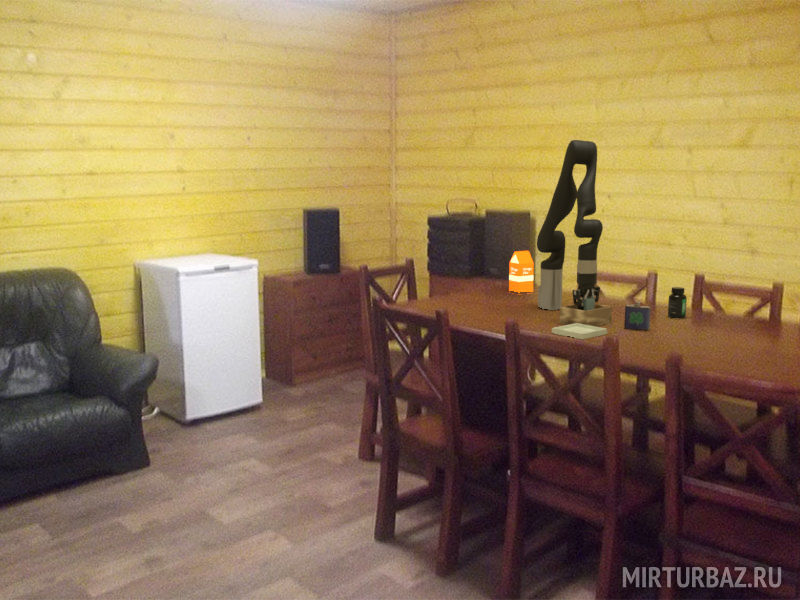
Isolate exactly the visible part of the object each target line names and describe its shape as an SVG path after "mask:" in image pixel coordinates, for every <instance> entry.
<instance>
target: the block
mask: <svg viewBox="0 0 800 600" xmlns="http://www.w3.org/2000/svg"><path fill="white" fill-rule="evenodd" d="M581 298H582V297H581ZM595 299H596V297H595V298H591V297H588V298H587V299H586V301H585V302H584V305H583V306H584V311H588V310H593V309H594V300H595ZM581 302H582V300H581V301H580V303H581ZM577 310H578V307H577Z"/></svg>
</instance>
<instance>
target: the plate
mask: <svg viewBox="0 0 800 600" xmlns="http://www.w3.org/2000/svg"><path fill="white" fill-rule="evenodd" d="M553 333H554V334H555V335H557V336H563V337H567V336H570V337H569V338H572V337H574V338H573V339H577V340H587V339H591V338H596V337H600V336H605V334H606V335H608V328H605V327H601V326H590V325H585V324H579V323H575V324H569V325H565V324H563V325H561V326H560V325H559V326H555V327H551V334H553Z"/></svg>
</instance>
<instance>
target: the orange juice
mask: <svg viewBox="0 0 800 600" xmlns="http://www.w3.org/2000/svg"><path fill="white" fill-rule="evenodd" d="M508 265H509V273H508V292H509V291H514V292H518V293H520V292H533V293H534V265H535V263H534V260H533V258H532V255H531V253H530V251H529V250H518V251H516V250H515V251H514V252H513V254H512V256H511V259H510V260H509V264H508Z"/></svg>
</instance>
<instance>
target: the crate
mask: <svg viewBox="0 0 800 600" xmlns="http://www.w3.org/2000/svg"><path fill="white" fill-rule="evenodd" d="M577 307H578V306H577V305H574V304H569V305H564V306H563V305H562V307H560V309H559V324H560V323H561V325H565V324H566V325H569V324H575V323H579V324H585V325H590V326H595V327H601V326H604V324H605V325H608V324H612V314H613V313H612V311H613V310H612V309H613V307H612V305H611V306H610V305H604V304H598V303H595V304H594V309H593V310H588V311H583V310H577Z"/></svg>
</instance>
